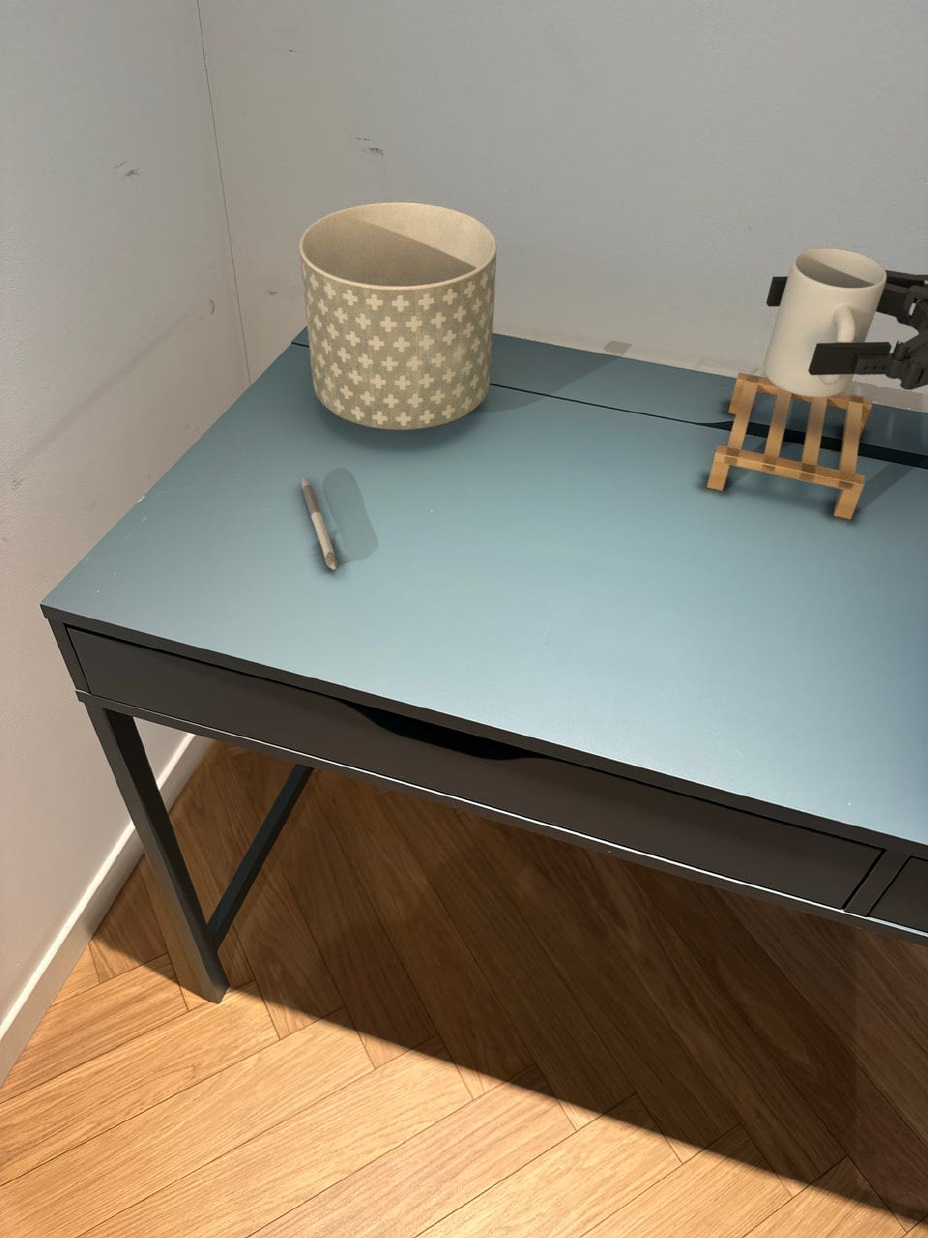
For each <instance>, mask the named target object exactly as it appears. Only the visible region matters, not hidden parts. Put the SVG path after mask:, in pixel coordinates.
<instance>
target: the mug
mask: <svg viewBox="0 0 928 1238" xmlns="http://www.w3.org/2000/svg"><path fill="white" fill-rule="evenodd" d="M885 270H886V269H885V268H884V266H882V265H881V264H880V263H879V262H878V261H876V260H874V259H872V258H871V257H869V256H868V255H867V256H866V255H864V254H861V253H858V252H855V251H851V250H847V249H841V248H832V247H830V248H829V247H821V248H813V249H808V250H804V251H801V252H800V253H798V254H797V255H796V256H795V257H794V258H793V260H792V262H791V264H790V268H789V271H788V275H787V276H788V278H787V282H786V285H785V289H784V293H783V296H782V300H781V304H780V306H778V311H777V314H776V318H775V322H774V326H773V328H772V329H773V330H772V333H771V336H770V340H769V344H768V347H767V349H766V350H767V351H766V353H765V355H764V356H765V358H764V360H763V372H764V374H765V377H766V378H768V379H769V380H770V381H771V382H772V383H773V384H775V385H776V386H778V387H780V388H781V389H783V390H786V391H788V392H791V393H794V394H797V395H802V396H808V397H829V396H833V395H837V394H839V393H841V392H842V393H844V392H845V391H846V390H847V389H848V388H849V386H850V385H851V383H852V381H853V379H854V376H855V374H843V375H810V373H809V371H808V370H809V367H810V363H811V360H812V357H813V354H814V351H815V347H816V344H817V343H857V342H866V341H867V337H868V335H869V331H870V329H871V325H872V322H873V320H874V317H875V315H876V313H877V312H876V309H877V306H878V303H879V300H880V297H881V295H882V292H883V289H884V286H885V283H886V278H887V275H886V272H885Z"/></svg>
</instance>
